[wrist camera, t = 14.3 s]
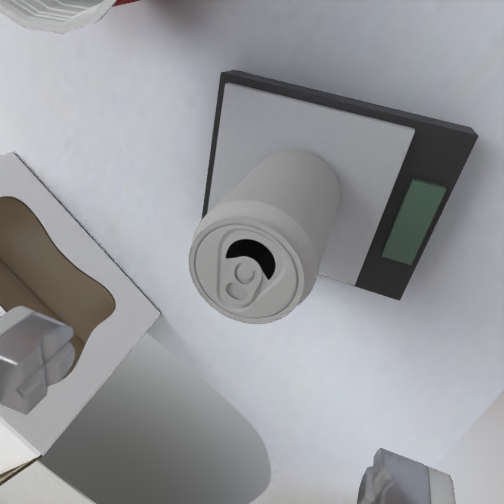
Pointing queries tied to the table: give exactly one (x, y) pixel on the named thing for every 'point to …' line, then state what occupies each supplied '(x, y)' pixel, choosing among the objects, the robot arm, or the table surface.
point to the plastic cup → (57, 13)
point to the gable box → (60, 307)
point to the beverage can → (266, 238)
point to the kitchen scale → (346, 170)
